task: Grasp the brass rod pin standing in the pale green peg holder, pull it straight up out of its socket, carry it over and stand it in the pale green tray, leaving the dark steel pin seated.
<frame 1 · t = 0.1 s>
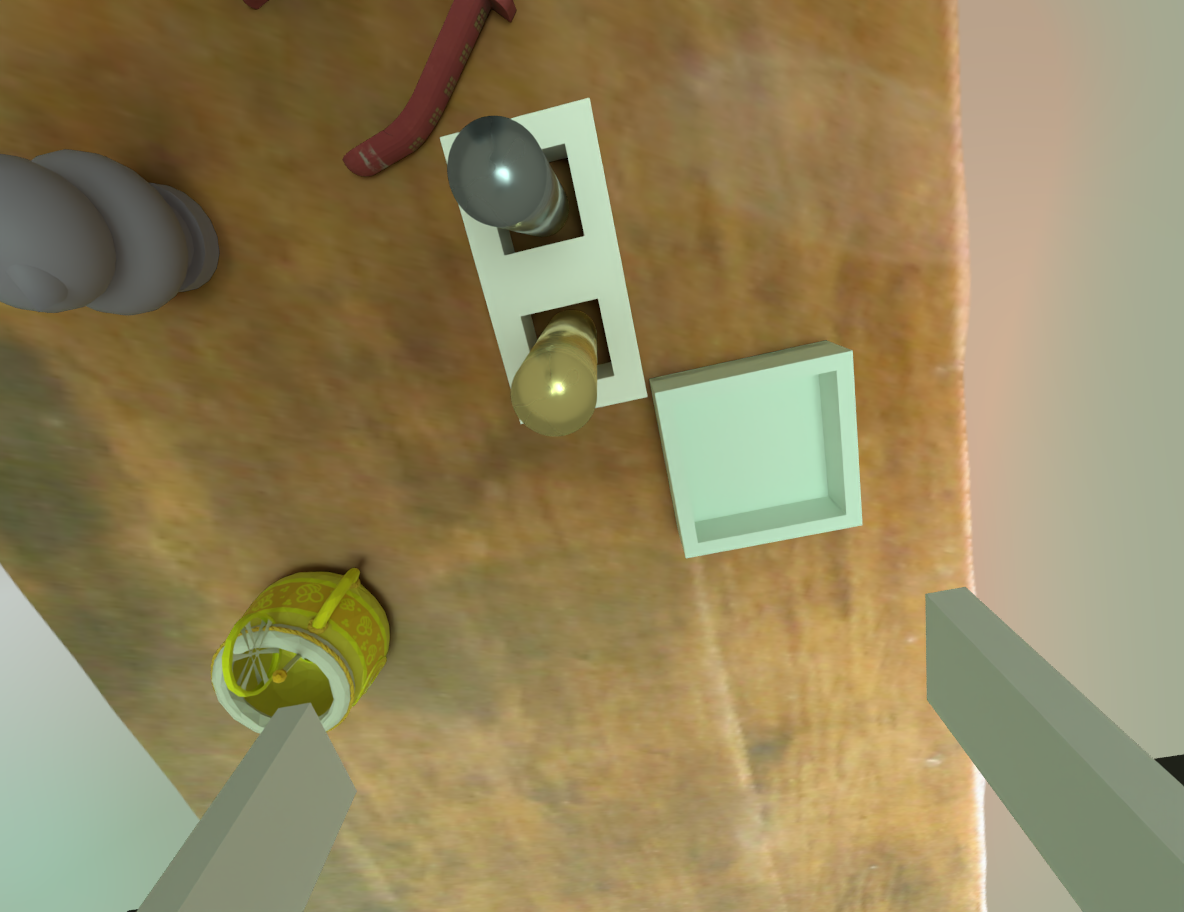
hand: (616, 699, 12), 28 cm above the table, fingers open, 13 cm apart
mug: (338, 608, 45), on the table
pin dark: (541, 207, 34), resting in pale green peg holder
pliers: (449, 33, 31), on the table
pin brass: (571, 335, 36), resting in pale green peg holder
pale green peg holder: (557, 274, 35), on the table
tray: (747, 441, 39), on the table
cat figurine: (168, 238, 35), on the table
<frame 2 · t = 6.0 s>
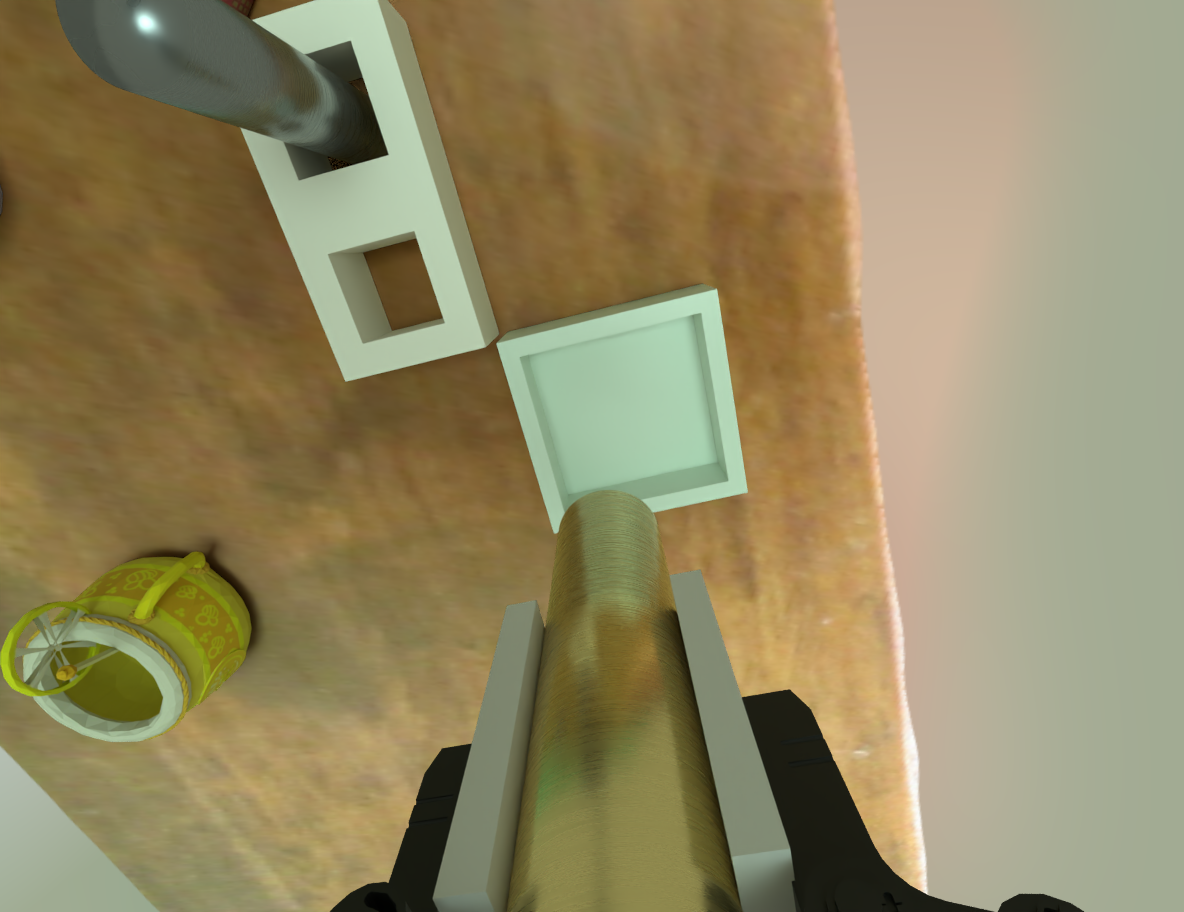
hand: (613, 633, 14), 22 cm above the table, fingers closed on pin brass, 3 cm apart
mug: (196, 597, 41), on the table
pin dark: (362, 131, 29), resting in pale green peg holder
pin brass: (608, 535, 18), point 17 cm above the table, touching gripper
pale green peg holder: (389, 211, 31), on the table
tray: (624, 402, 35), on the table
when the fingers open (7 cm above the table, at t = 9.1 s): pin brass stays where it is, resting on tray.
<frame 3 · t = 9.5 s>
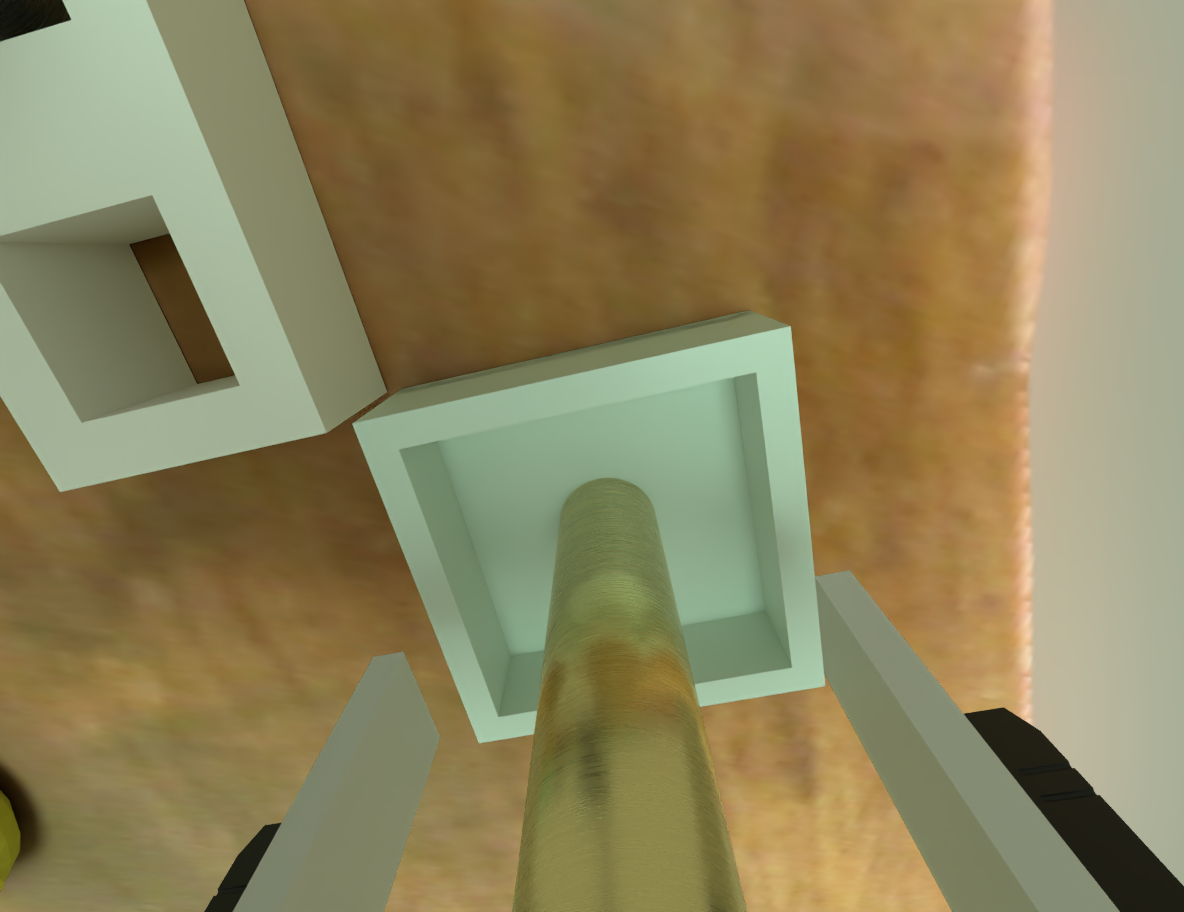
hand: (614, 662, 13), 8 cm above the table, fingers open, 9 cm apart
pin dark: (99, 8, 15), resting in pale green peg holder
pin brass: (608, 521, 19), point 1 cm above the table, touching tray
pale green peg holder: (169, 167, 16), on the table
tray: (608, 508, 20), on the table
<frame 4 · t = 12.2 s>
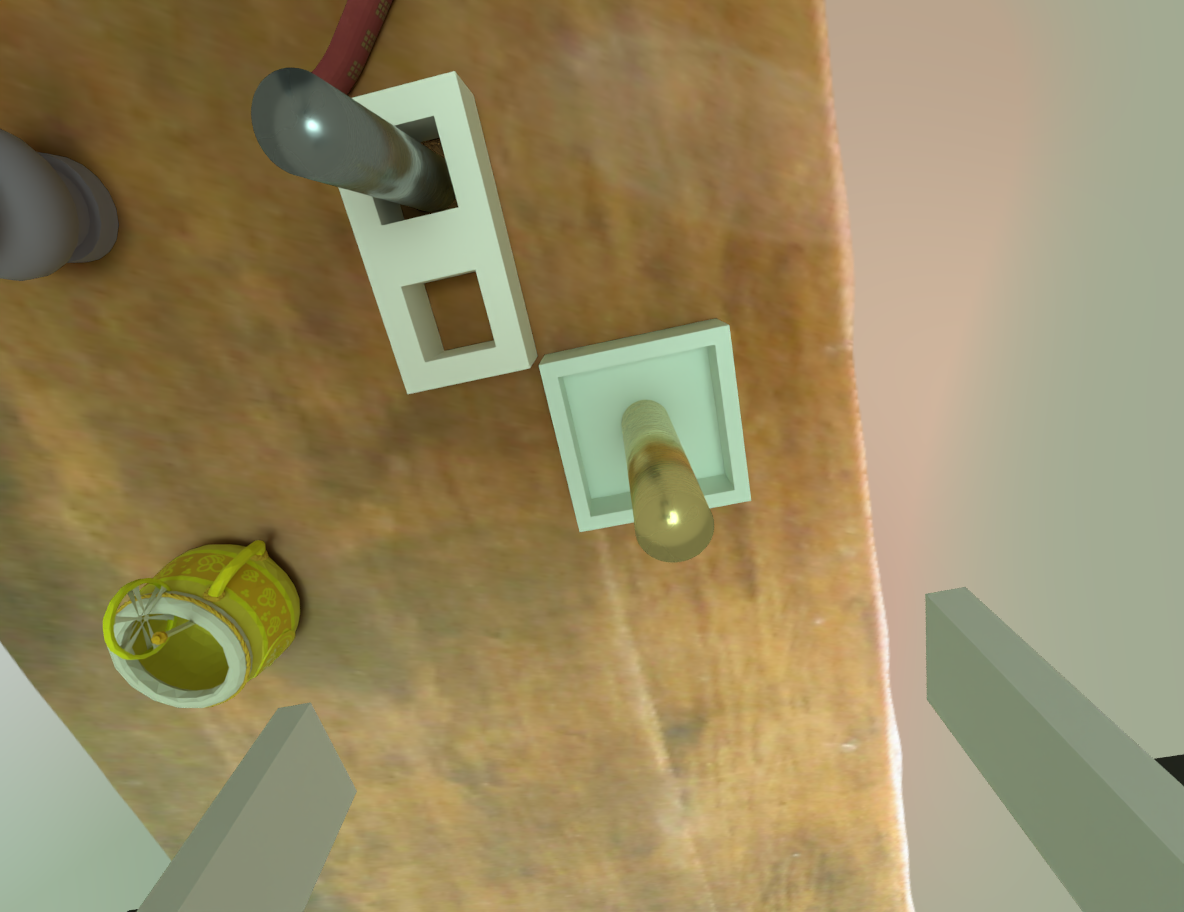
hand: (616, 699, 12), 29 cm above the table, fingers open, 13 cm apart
mug: (251, 582, 45), on the table
pin dark: (430, 183, 34), resting in pale green peg holder
pin brass: (645, 423, 39), point 1 cm above the table, touching tray
pale green peg holder: (449, 249, 36), on the table
tray: (644, 418, 40), on the table
cat figurine: (68, 209, 35), on the table
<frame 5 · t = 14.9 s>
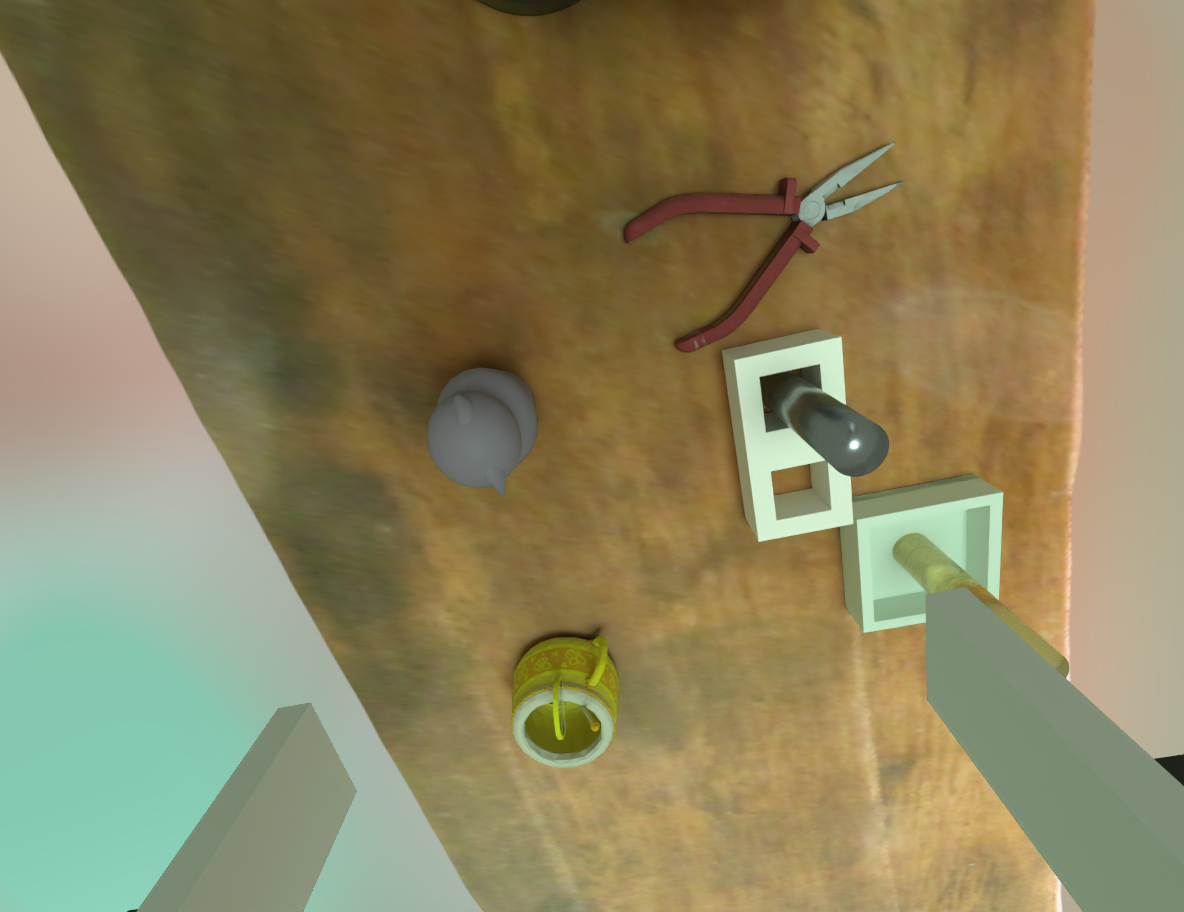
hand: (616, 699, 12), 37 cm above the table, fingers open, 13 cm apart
mug: (572, 662, 57), on the table
pin dark: (774, 385, 47), resting in pale green peg holder
pliers: (757, 256, 44), on the table
pin brass: (911, 548, 51), point 1 cm above the table, touching tray
pale green peg holder: (779, 429, 48), on the table
tray: (905, 543, 52), on the table
cat figurine: (497, 404, 48), on the table
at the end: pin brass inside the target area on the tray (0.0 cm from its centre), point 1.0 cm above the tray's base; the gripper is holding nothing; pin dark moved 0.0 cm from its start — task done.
